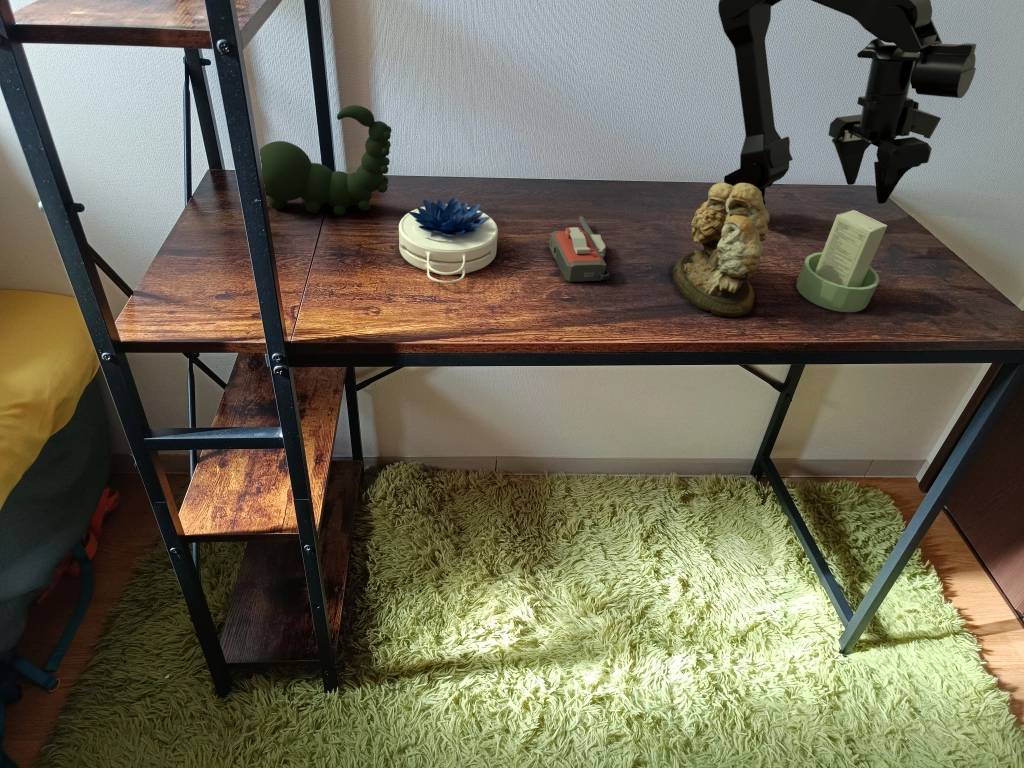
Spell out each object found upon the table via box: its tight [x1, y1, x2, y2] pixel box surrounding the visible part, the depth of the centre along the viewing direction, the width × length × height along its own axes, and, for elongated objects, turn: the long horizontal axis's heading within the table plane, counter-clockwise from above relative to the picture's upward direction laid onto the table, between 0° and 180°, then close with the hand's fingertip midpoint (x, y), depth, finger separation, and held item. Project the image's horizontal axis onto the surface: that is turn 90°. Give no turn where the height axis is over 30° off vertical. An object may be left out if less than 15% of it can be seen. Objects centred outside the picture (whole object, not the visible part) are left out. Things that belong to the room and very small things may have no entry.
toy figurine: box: [259, 104, 393, 217], centre depth 114 cm, size 9×19×25 cm
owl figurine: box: [672, 182, 770, 318], centre depth 104 cm, size 18×12×17 cm, turn 11°
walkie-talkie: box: [548, 215, 610, 283], centre depth 113 cm, size 9×4×20 cm
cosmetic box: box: [815, 209, 888, 288], centre depth 107 cm, size 6×4×12 cm
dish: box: [795, 251, 880, 313], centre depth 110 cm, size 11×11×4 cm
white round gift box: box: [398, 197, 499, 284], centre depth 108 cm, size 7×16×20 cm
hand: (865, 193), depth 112 cm, fingers open, 9 cm apart
